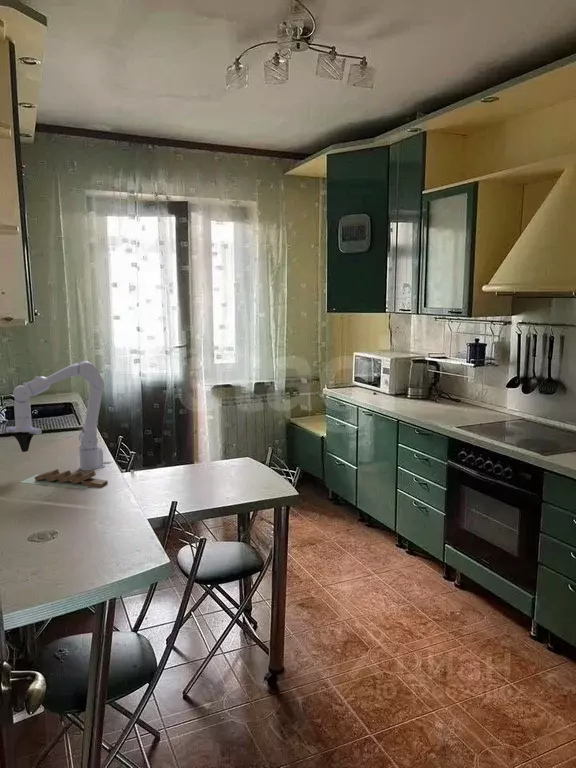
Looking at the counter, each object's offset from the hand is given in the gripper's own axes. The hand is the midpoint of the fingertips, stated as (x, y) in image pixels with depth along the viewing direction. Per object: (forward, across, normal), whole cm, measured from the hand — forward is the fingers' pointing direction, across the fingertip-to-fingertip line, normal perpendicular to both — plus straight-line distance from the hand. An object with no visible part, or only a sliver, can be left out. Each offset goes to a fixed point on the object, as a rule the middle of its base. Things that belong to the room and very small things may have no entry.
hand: (25, 451), depth 225 cm
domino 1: (+8, +9, -4) cm, 13 cm away
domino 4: (+9, +24, -4) cm, 26 cm away
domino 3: (+8, +19, -4) cm, 21 cm away
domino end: (+8, +29, -4) cm, 30 cm away
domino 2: (+8, +14, -4) cm, 17 cm away
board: (+10, +18, -4) cm, 21 cm away
